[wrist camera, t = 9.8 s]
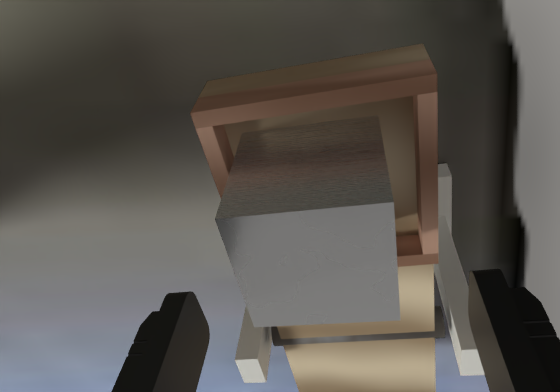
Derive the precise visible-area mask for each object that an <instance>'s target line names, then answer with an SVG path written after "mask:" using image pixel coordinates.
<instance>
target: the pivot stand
mask: <svg viewBox="0 0 560 392" xmlns="http://www.w3.org/2000/svg"><path fill="white" fill-rule="evenodd" d="M438 253H439V264H434V273H435V277H436V281H437V285H438V289H439V293H440V296H441V300H442V304H443V308H444V312H445V316H446V320H447V324H448V328H449V332H450V335H451V339H452V343H453V347H454V351H455V355H456V359H457V363H458V367H459V371H460V375H461V376H468V375H485V374H484V370H483V367H482V364H481V361H480V357H479V354H478V351H477V347H476V344H475V341H474V338H473V334H472V331H471V327H470V322H469V315H468V296H469V287H468V284H467V281H466V278H465V275H464V272H463V269H462V266H461V263H460V260H459V257H458V254H457V251H456V248H455V245H454V241H453V238H452V175H451V173H450V170H449V168H448V165H447V163H445V164H438ZM271 343H272V335H271V327H254V325H253V322H252V320H251V317H250V314H249V311H248V309H247V306H246V308H245V313H244V318H243V323H242V328H241V333H240V338H239V342H238V347H237V352H236V357H235V362H236V364H237V366H238V369H239V371H240V373H241V376H242V378H243V380H244V383H257V382H266V380H267V373H268V365H269V358H270V351H271Z"/></svg>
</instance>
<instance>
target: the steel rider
mask: <svg viewBox="0 0 560 392" xmlns="http://www.w3.org/2000/svg"><path fill="white" fill-rule="evenodd" d="M215 220H216V223H217V226H218V229H219V231H220V234H221V237H222V240H223V242H224V245H225V248H226V251H227V253H228V256H229V259H230V262H231V264H232V267H233V270H234V273H235V276H236V278H237V281H238V284H239V287H240V289H241V292H242V295H243V298H244V300H245V303H246V306H247V309H248V311H249V314H250V317H251V320H252V322H253V325H254V327H271V326H292V325H314V324H335V323H356V322H378V321H399V320H401V319H400V301H399V284H398V266H397V248H396V231H395V213H394V200H393V195H392V189H391V183H390V178H389V172H388V167H387V161H386V156H385V150H384V145H383V139H382V134H381V128H380V122H379V117H378V115H375V116H367V117H359V118H352V119H344V120H336V121H329V122H321V123H314V124H306V125H298V126H291V127H283V128H275V129H268V130H260V131H252V132H245V133H242V135H241V138H240V141H239V144H238V148H237V151H236V154H235V157H234V160H233V164H232V167H231V170H230V173H229V176H228V179H227V183H226V186H225V189H224V192H223V195H222V198H221V202H220V205H219V208H218V211H217V214H216V218H215Z"/></svg>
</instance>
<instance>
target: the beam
mask: <svg viewBox="0 0 560 392" xmlns="http://www.w3.org/2000/svg"><path fill="white" fill-rule="evenodd" d="M190 114H191V117H192V120H193V123H194V125H195V128H196V131H197V134H198V136H199V139H200V142H201V145H202V147H203V150H204V153H205V156H206V159H207V161H208V164H209V167H210V170H211V172H212V175H213V178H214V181H215V183H216V186H217V189H218V192H219V194H220V197H221V198H222V195H223V192H224V189H225V186H226V183H227V179H228V176H229V173H230V170H231V167H232V164H233V160H234V157H235V154H236V151H237V148H238V144H239V141H240V138H241V135H242V133H245V132H252V131H260V130H268V129H275V128H283V127H291V126H298V125H306V124H314V123H321V122H329V121H336V120H344V119H352V118H359V117H367V116H375V115H378V117H379V122H380V128H381V134H382V139H383V145H384V150H385V156H386V161H387V167H388V172H389V178H390V183H391V189H392V195H393V200H394V213H395V231H396V248H397V266H398V284H399V301H400V319H401V320H399V321H378V322H356V323H335V324H314V325H292V326H271V335H272V341H273V344H274V346H284V349H285V352H286V355H287V358H288V361H289V363H290V366H291V369H292V372H293V375H294V378H295V381H296V384H297V387H298V390H299V392H436V387H435V338H445V326H444V319H443V314H442V310H441V307H440V306H434V264H439V253H438V99H437V72H436V70H435V68H434V66H433V64H432V61H431V59H430V57H429V55H428V53H427V51H426V49H425V47H424V45H423V44H417V45H412V46H406V47H400V48H394V49H388V50H383V51H377V52H371V53H365V54H360V55H354V56H348V57H342V58H337V59H331V60H325V61H319V62H314V63H308V64H302V65H296V66H291V67H285V68H279V69H273V70H268V71H262V72H256V73H250V74H245V75H239V76H233V77H227V78H222V79H216V80H210V81H207V83H206V85H205V86H204V88H203V90H202V92H201V94H200V96H199V98H198V99H197V101H196V103H195V105H194V107H193V109H192V111H191V112H190Z"/></svg>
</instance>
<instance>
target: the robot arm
mask: <svg viewBox="0 0 560 392" xmlns="http://www.w3.org/2000/svg"><path fill="white" fill-rule="evenodd" d="M468 315H469V322H470V327H471V331H472V334H473V338H474V341H475V344H476V347H477V351H478V354H479V357H480V361H481V364H482V367H483V370H484V374H485V377H486V380H487V384H488V387H489V390H490V392H560V340H559V338H557V336H556V332H555V330H554V328H553V326H552V324H551V323H550V322H549V318H548V316H547V314H546V312H545V310H544V308H543V305H542V303H541V302H540V301H539V300H538V299H537V298H536V297H535V296H534V295H533V294H531V293H530V292H529V291H528V290H527V289H526V288H525V287H521V288H509V287H508V285H507V282H506V280H505V278H504V275H503V273H502V271H501V270H500V269H491V270H478V271H470V273H469V296H468ZM209 336H210V334H209V326H208V323H207V320H206V318H205V316H204V314H203V311H202V309H201V307H200V305H199V302H198V300H197V298H196V296H195V294H194V293H193V292H179V293H168V294H167V295H166V296H165V298H164V301H163V303H162V306H161V308H160V311H155V312H152V313H151V314H150V315H149V316H148V317H147V318H146V320H145V321H144V322H143V323H142V324H141V325H140V327H139V330H138V332H137V334H136V337H135V339H134V344H132V346H131V348H130V350H129V353H128V357H126V360H125V362H124V364H123V367H122V369H121V371H120V373H119V376H118V378H117V380H116V383H115V385H114V387H113V390H112V392H196V389H197V385H198V382H199V378H200V374H201V370H202V367H203V363H204V359H205V356H206V352H207V348H208V344H209Z"/></svg>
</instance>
